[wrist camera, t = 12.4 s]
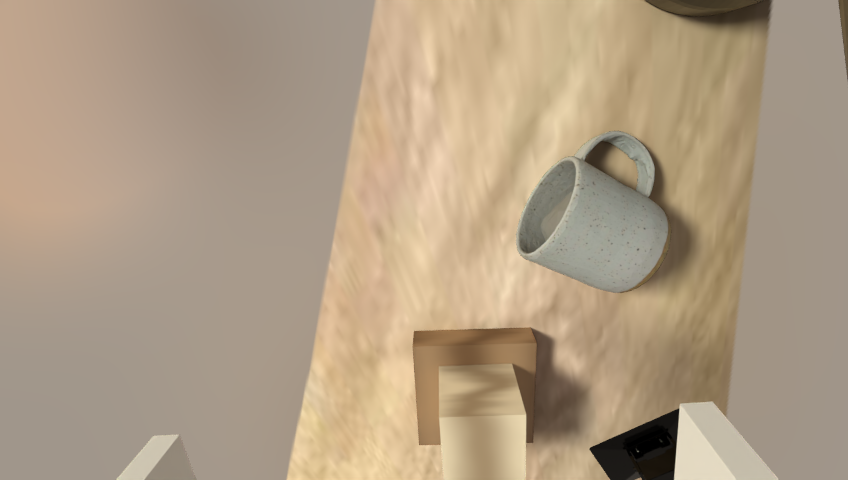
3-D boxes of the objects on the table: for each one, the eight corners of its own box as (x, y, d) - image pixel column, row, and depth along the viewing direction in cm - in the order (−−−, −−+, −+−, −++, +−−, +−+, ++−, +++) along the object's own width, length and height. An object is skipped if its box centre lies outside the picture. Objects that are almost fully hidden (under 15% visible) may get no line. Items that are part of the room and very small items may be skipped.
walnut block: (529, 324, 38) (536, 343, 35) (526, 418, 41) (533, 442, 38) (414, 327, 38) (412, 346, 35) (420, 420, 41) (419, 445, 38)
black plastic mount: (603, 493, 43) (622, 537, 39) (571, 443, 42) (587, 483, 37) (724, 442, 41) (758, 483, 37) (696, 386, 39) (728, 423, 35)
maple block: (511, 363, 36) (526, 414, 30) (512, 423, 37) (525, 482, 32) (438, 366, 36) (439, 417, 30) (442, 425, 38) (443, 484, 32)
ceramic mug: (595, 276, 36) (638, 321, 28) (506, 236, 35) (527, 272, 27) (669, 157, 33) (737, 172, 25) (573, 110, 32) (616, 112, 24)
